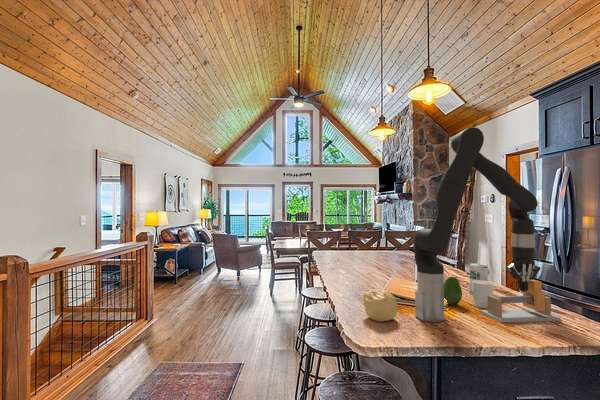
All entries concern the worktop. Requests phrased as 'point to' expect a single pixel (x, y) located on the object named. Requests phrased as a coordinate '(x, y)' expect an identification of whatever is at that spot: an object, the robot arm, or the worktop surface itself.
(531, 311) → the pipe stand
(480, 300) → the white cup
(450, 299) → the avocado
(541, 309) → the collar
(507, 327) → the worktop surface
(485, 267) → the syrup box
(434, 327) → the worktop surface
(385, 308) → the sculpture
